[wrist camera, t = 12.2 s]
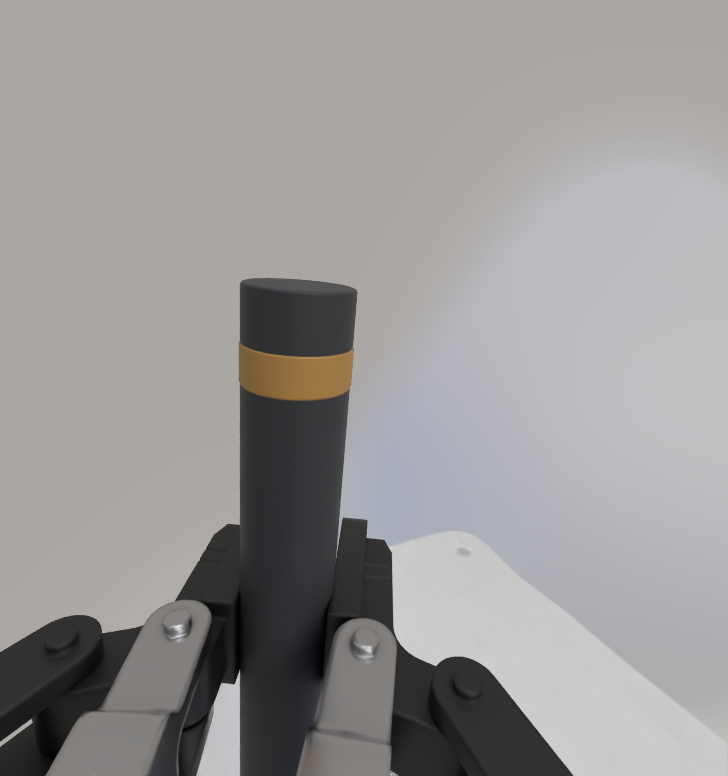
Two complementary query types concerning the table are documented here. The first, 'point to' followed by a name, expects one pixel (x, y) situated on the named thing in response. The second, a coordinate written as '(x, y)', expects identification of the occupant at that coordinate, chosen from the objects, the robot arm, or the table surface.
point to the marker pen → (288, 504)
